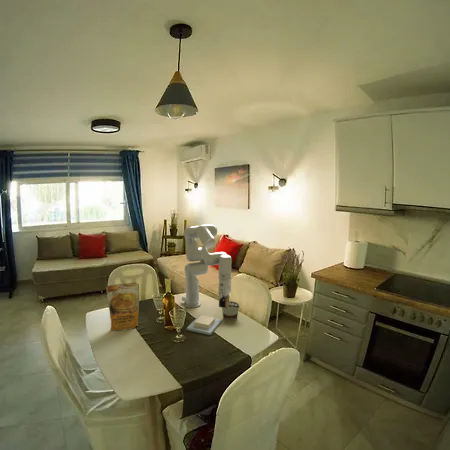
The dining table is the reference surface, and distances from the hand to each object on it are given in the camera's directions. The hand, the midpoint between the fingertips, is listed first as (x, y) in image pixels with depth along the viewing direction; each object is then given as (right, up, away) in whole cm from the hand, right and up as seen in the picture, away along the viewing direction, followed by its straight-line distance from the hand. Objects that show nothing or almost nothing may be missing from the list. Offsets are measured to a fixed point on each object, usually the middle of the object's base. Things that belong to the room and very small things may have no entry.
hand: (224, 304), depth 174 cm
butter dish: (-12, -16, +9) cm, 22 cm away
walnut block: (0, -1, 0) cm, 1 cm away
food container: (+4, -15, +22) cm, 27 cm away
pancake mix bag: (-62, -16, +6) cm, 64 cm away
